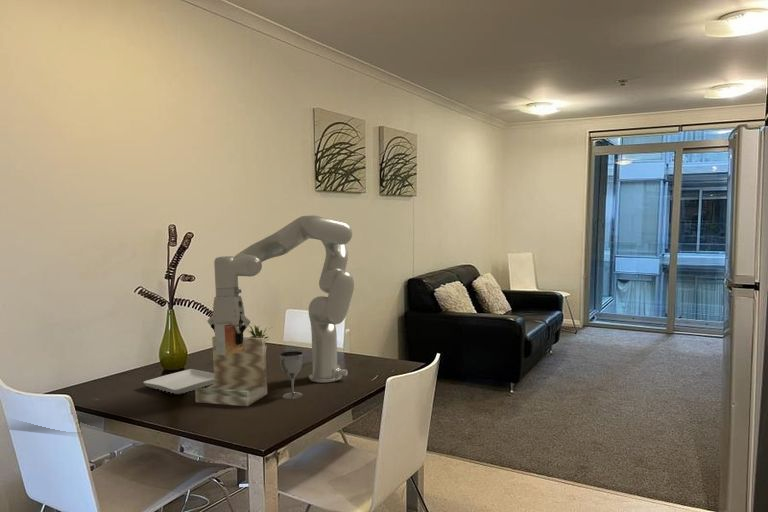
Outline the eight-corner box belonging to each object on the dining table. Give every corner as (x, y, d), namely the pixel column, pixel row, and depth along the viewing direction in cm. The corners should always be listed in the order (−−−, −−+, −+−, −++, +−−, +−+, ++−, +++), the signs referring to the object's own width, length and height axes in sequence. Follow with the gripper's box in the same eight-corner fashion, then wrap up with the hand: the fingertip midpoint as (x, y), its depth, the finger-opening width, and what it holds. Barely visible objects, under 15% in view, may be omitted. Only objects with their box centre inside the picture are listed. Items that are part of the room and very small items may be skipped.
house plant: (233, 360, 242) (231, 324, 241) (257, 354, 254) (255, 319, 252) (255, 365, 234) (253, 327, 233) (279, 357, 245) (277, 321, 244)
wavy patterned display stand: (267, 393, 194) (264, 338, 193) (247, 406, 182) (245, 346, 180) (218, 390, 200) (215, 336, 199) (195, 402, 188) (192, 344, 186)
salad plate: (191, 375, 221) (190, 367, 221) (225, 383, 209) (224, 375, 209) (141, 390, 204) (141, 381, 204) (176, 399, 192) (175, 390, 192)
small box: (225, 356, 185) (224, 325, 184) (215, 354, 188) (213, 323, 188) (244, 351, 191) (243, 321, 191) (234, 349, 195) (233, 319, 194)
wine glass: (294, 400, 186) (292, 357, 185) (276, 397, 190) (274, 354, 189) (309, 394, 193) (307, 352, 192) (292, 390, 197) (290, 349, 196)
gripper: (255, 291, 190) (257, 342, 191) (211, 290, 195) (214, 340, 196) (243, 294, 182) (246, 347, 184) (198, 293, 187) (201, 345, 189)
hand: (229, 343), depth 190 cm, fingers closed on small box, 7 cm apart
